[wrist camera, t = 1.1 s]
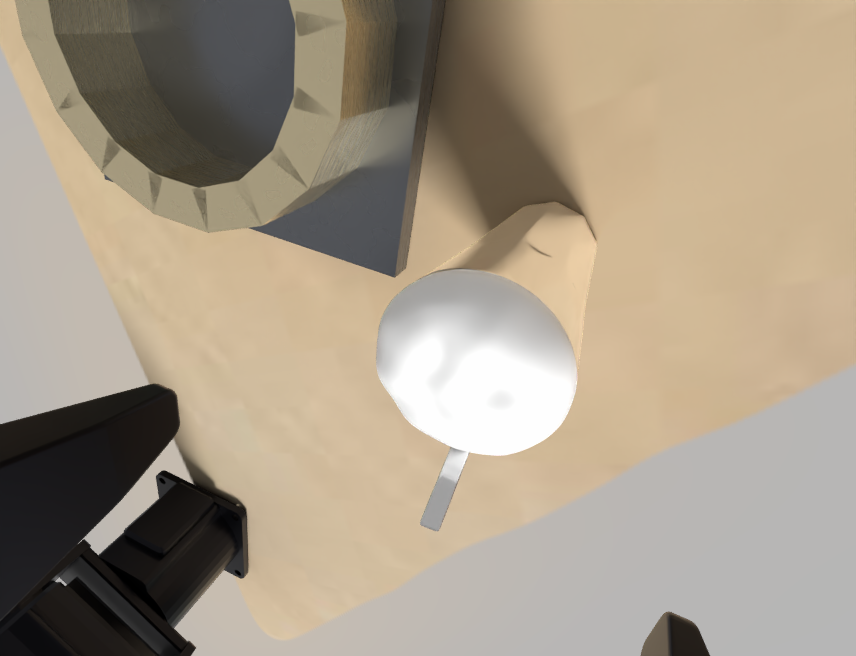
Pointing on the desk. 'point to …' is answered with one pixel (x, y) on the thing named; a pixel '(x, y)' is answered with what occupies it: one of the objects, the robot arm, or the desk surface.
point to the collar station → (252, 111)
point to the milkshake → (491, 341)
